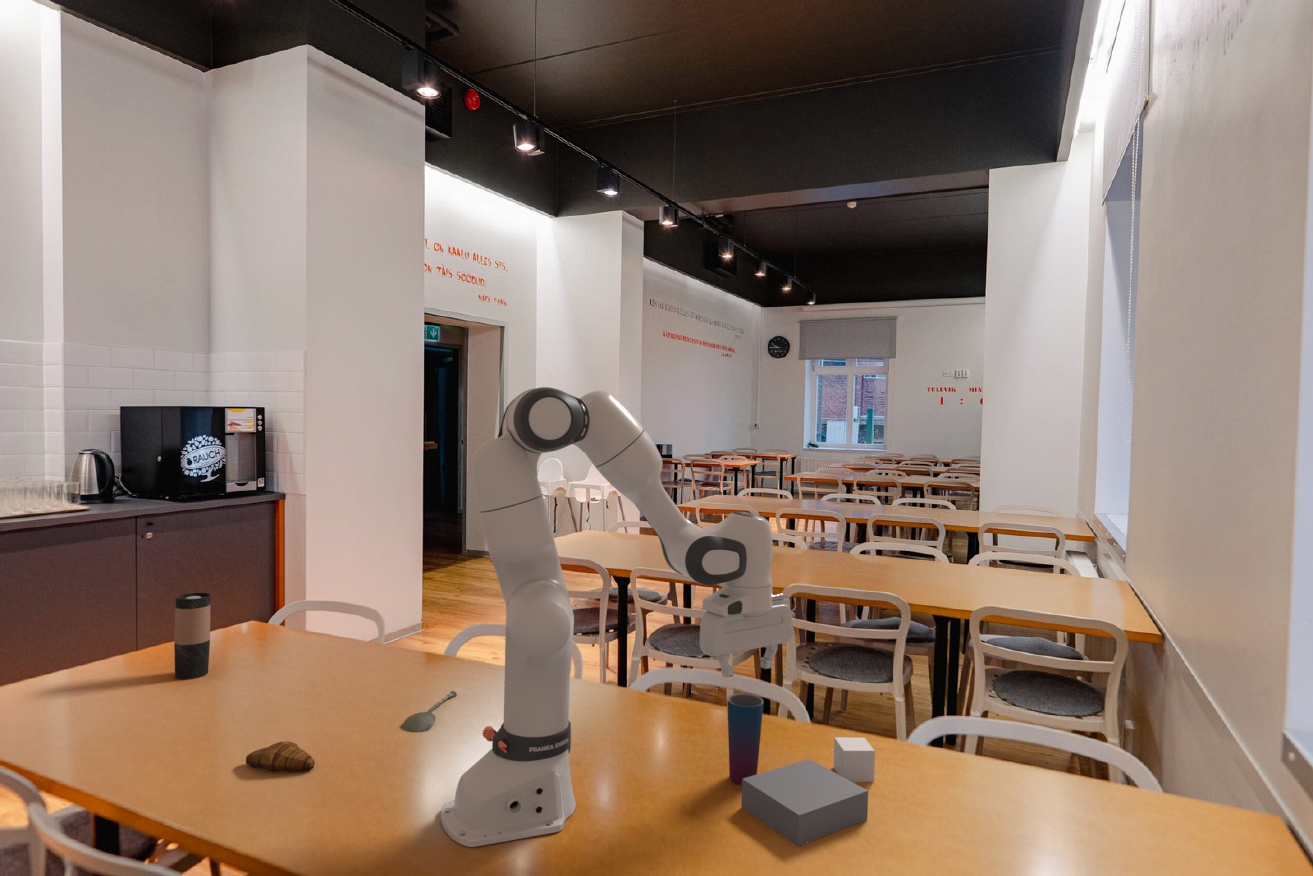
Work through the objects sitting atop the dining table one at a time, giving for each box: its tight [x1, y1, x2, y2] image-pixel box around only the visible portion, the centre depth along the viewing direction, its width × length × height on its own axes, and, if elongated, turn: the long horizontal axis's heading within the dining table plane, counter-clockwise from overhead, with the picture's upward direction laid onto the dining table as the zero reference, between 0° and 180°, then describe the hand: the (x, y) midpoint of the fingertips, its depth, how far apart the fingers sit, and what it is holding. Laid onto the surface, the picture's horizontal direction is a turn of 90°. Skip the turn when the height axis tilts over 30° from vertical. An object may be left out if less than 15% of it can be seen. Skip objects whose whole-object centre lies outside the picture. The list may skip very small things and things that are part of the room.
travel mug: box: [173, 592, 211, 680], centre depth 187 cm, size 8×8×20 cm
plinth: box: [740, 758, 869, 847], centre depth 127 cm, size 16×14×5 cm
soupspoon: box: [402, 690, 458, 733], centre depth 167 cm, size 22×3×7 cm
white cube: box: [833, 736, 876, 783], centre depth 142 cm, size 6×6×6 cm
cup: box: [726, 693, 765, 786], centre depth 139 cm, size 7×7×15 cm
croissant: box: [245, 740, 316, 773], centre depth 139 cm, size 14×7×5 cm, turn 82°
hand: (747, 671), depth 139 cm, fingers open, 8 cm apart
